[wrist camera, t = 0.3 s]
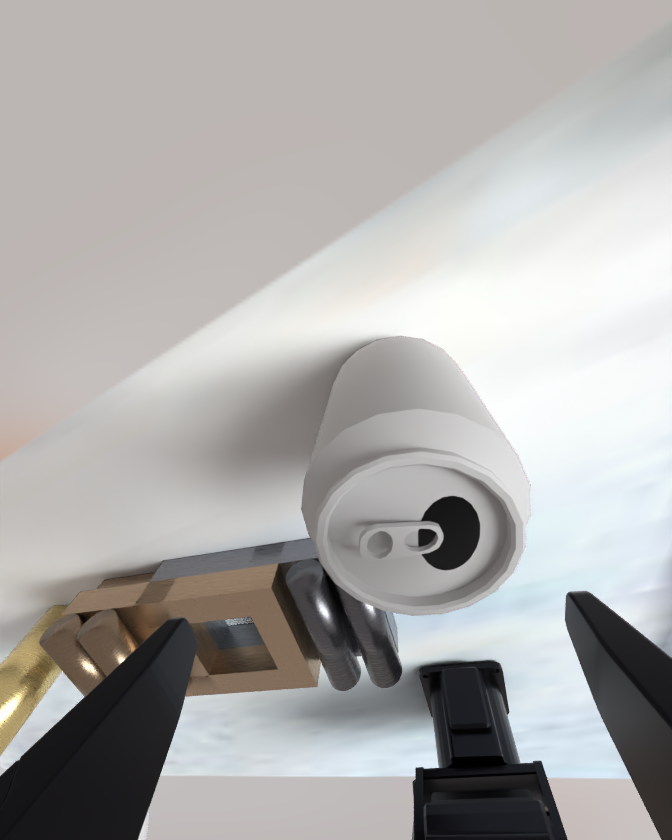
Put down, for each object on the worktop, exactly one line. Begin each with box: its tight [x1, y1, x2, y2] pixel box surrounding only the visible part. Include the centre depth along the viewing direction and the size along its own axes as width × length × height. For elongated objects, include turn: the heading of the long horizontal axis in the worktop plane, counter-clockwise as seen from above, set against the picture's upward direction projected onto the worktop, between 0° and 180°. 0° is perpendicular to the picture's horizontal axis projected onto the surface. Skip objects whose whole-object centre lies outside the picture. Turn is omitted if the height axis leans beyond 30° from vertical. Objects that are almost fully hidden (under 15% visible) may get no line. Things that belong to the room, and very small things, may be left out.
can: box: [301, 336, 531, 616], centre depth 17 cm, size 8×8×12 cm
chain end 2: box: [150, 538, 402, 691], centre depth 28 cm, size 10×16×4 cm, turn 106°
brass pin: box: [0, 605, 68, 756], centre depth 29 cm, size 4×4×10 cm
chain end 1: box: [39, 563, 321, 697], centre depth 28 cm, size 10×16×6 cm, turn 106°
